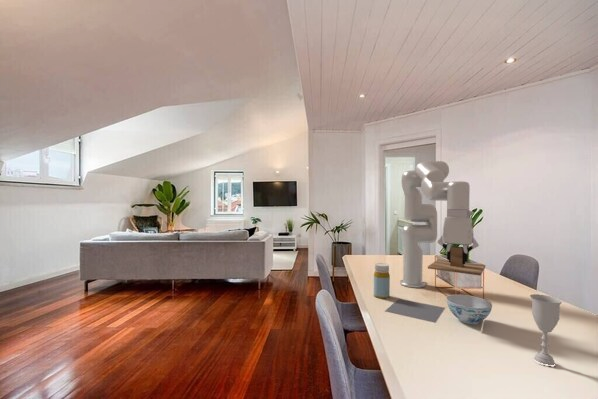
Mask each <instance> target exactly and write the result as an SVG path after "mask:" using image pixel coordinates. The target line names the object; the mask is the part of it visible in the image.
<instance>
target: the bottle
mask: <svg viewBox="0 0 598 399" xmlns="http://www.w3.org/2000/svg"><path fill="white" fill-rule="evenodd" d="M390 276H391V275H390V265H389V264H387V263H382V262H381V263H379V262H378V263H376V262H375V263H374V273H373V296H374V297H375V298H377V299H383V300H387V299H389V298H390V296H391V295H390V292H391V291H390V286H391V284H390V280H391V278H390ZM374 297H373V298H374Z"/></svg>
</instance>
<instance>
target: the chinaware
mask: <svg viewBox="0 0 598 399" xmlns="http://www.w3.org/2000/svg"><path fill="white" fill-rule="evenodd" d="M445 299H446V300H445V301H446V303H447V307H448V309H449V311H450V313H452V315H454V316H455V318H457V319H458V321H459V322H461V323H464V324H468V325H478V324H479V323H481V322H482V321H484V320H485V319H487V317H488V316H489V315H490V313H491V311H492V308H493V303H492V302H491V301H489V300H487V299H484V298H482V297H479V296H474V295H468V294H449V295H447V296H446V298H445Z"/></svg>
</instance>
